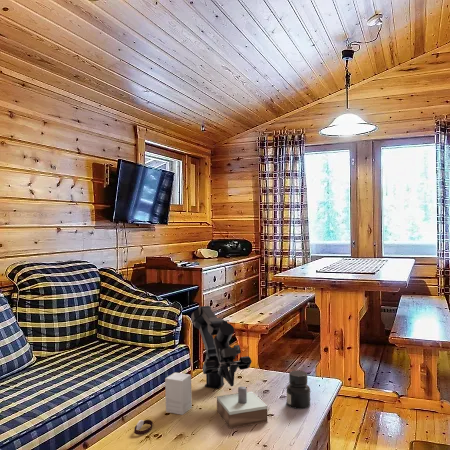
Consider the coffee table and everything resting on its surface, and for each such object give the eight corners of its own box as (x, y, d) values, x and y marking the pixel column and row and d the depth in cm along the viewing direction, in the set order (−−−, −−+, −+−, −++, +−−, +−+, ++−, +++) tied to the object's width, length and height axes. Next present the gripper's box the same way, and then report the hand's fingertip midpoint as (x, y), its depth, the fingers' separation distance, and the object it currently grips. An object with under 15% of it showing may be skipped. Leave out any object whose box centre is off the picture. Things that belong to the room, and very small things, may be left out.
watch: (145, 425, 157) (145, 414, 157) (156, 428, 155) (156, 417, 155) (130, 434, 150) (130, 423, 150) (141, 437, 148) (141, 426, 148)
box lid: (216, 399, 167) (216, 382, 166) (252, 393, 171) (251, 378, 171) (229, 414, 153) (229, 397, 153) (267, 408, 158) (267, 391, 158)
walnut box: (216, 411, 167) (216, 399, 167) (252, 406, 171) (252, 394, 171) (229, 428, 154) (229, 415, 153) (267, 422, 158) (267, 409, 158)
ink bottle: (291, 398, 179) (291, 367, 178) (313, 401, 175) (313, 371, 175) (283, 407, 170) (282, 375, 170) (306, 411, 166) (306, 379, 166)
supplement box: (192, 407, 171) (191, 374, 170) (182, 415, 164) (182, 380, 164) (175, 404, 174) (175, 371, 173) (165, 412, 167) (164, 378, 167)
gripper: (204, 340, 173) (213, 379, 163) (249, 335, 179) (261, 372, 169) (198, 354, 180) (207, 392, 170) (242, 350, 186) (253, 386, 176)
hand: (232, 385), depth 171 cm, fingers closed
